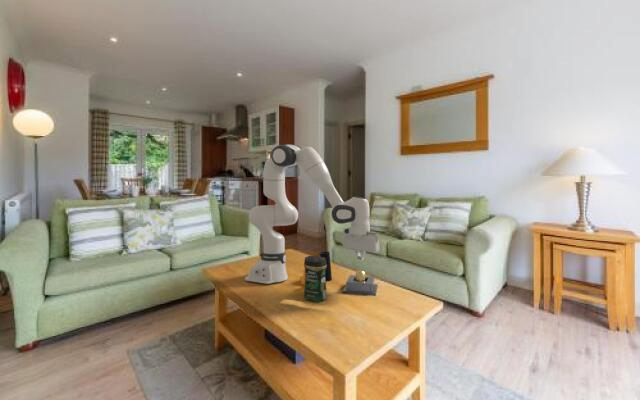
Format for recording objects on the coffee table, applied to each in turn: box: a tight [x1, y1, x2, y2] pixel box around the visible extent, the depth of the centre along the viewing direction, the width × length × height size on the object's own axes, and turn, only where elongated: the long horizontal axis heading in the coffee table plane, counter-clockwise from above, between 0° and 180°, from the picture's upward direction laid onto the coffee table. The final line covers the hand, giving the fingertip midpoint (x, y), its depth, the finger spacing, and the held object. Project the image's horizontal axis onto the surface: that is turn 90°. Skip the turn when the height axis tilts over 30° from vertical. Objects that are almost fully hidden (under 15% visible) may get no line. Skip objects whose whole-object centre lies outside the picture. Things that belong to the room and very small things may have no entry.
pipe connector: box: [319, 250, 333, 282], centre depth 148 cm, size 12×5×15 cm, turn 120°
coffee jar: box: [303, 255, 328, 303], centre depth 124 cm, size 10×8×19 cm
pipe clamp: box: [299, 269, 305, 287], centre depth 143 cm, size 12×4×6 cm, turn 18°
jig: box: [342, 274, 378, 296], centre depth 136 cm, size 15×14×5 cm
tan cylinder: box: [355, 269, 366, 281], centre depth 135 cm, size 4×4×8 cm
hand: (360, 259), depth 136 cm, fingers closed
